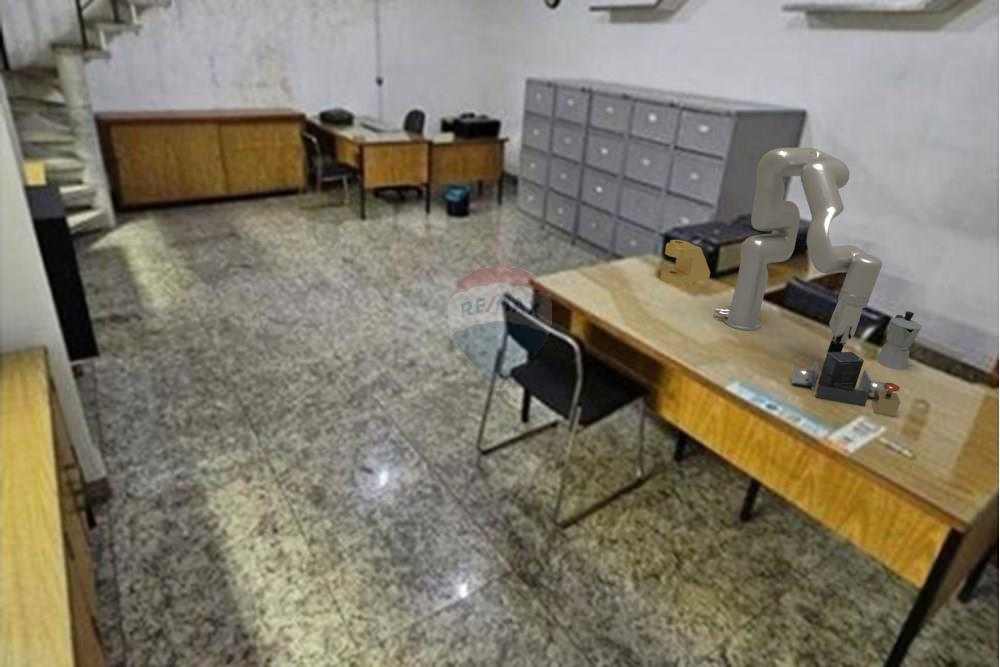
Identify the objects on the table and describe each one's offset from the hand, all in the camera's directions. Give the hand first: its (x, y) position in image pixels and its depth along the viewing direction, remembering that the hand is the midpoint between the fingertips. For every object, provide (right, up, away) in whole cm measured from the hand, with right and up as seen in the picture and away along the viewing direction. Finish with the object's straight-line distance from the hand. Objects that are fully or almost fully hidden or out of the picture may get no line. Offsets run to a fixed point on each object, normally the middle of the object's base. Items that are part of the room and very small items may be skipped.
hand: (833, 354), depth 188 cm
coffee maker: (+24, -4, +12) cm, 27 cm away
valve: (+5, -15, -16) cm, 22 cm away
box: (-2, -10, -5) cm, 12 cm away
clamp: (-24, +28, +71) cm, 80 cm away
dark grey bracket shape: (-3, -11, -8) cm, 14 cm away
